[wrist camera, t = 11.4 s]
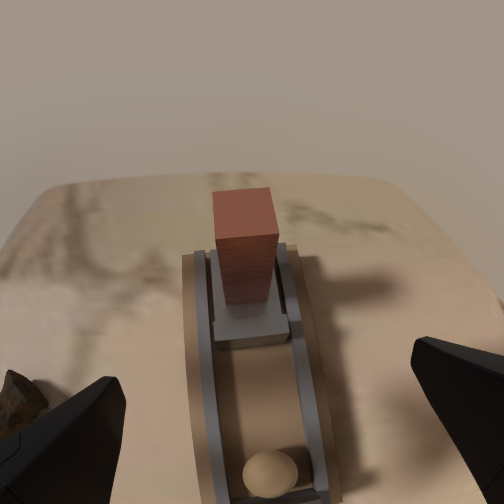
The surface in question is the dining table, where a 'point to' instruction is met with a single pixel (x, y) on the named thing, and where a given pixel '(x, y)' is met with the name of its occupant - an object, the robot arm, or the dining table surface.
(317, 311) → the dining table surface
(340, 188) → the dining table surface
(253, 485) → the nut
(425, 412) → the dining table surface
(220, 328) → the lever
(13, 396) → the dark brown bar
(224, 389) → the ball pusher game
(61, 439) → the robot arm
